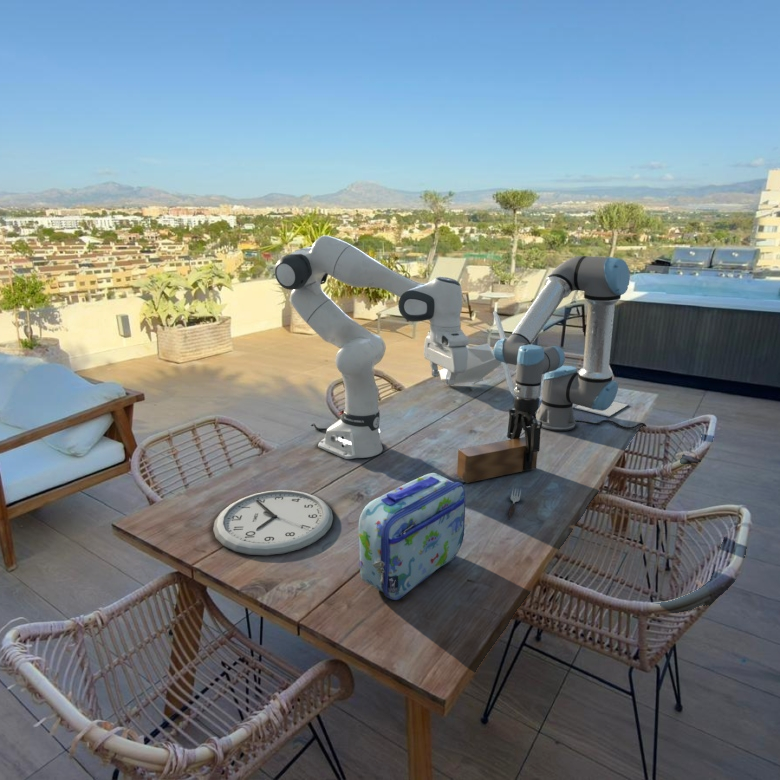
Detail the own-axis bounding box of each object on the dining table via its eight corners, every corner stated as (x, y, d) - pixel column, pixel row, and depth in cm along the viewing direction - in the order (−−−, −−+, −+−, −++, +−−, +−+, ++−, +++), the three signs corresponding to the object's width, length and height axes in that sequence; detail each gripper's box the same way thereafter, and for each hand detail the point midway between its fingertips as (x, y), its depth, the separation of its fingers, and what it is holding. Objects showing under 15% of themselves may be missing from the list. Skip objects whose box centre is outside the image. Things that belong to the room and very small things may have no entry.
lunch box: (387, 613, 103) (389, 519, 97) (352, 587, 110) (351, 498, 104) (468, 558, 121) (474, 476, 114) (433, 538, 128) (436, 460, 122)
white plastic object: (461, 429, 252) (437, 405, 227) (444, 352, 274) (420, 323, 250) (535, 404, 240) (518, 377, 215) (510, 326, 262) (492, 293, 237)
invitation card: (608, 416, 214) (573, 407, 224) (608, 416, 214) (573, 408, 224) (628, 404, 229) (594, 396, 238) (628, 405, 229) (594, 397, 238)
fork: (503, 520, 136) (504, 514, 136) (511, 493, 151) (512, 486, 150) (513, 522, 136) (514, 515, 135) (521, 494, 150) (521, 488, 149)
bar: (524, 461, 170) (527, 436, 167) (536, 468, 165) (538, 443, 162) (456, 474, 160) (458, 449, 158) (466, 483, 155) (468, 456, 153)
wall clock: (331, 546, 121) (198, 551, 119) (331, 552, 122) (199, 557, 119) (333, 485, 150) (227, 488, 147) (334, 490, 150) (227, 493, 148)
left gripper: (419, 328, 160) (417, 372, 164) (452, 342, 142) (450, 390, 146) (437, 327, 162) (435, 370, 166) (472, 340, 144) (469, 388, 148)
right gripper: (498, 389, 166) (493, 455, 173) (536, 407, 149) (529, 480, 156) (518, 386, 168) (512, 452, 176) (557, 404, 152) (549, 476, 159)
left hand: (442, 380), depth 156 cm, fingers open, 8 cm apart
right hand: (520, 465), depth 166 cm, fingers closed on bar, 6 cm apart
